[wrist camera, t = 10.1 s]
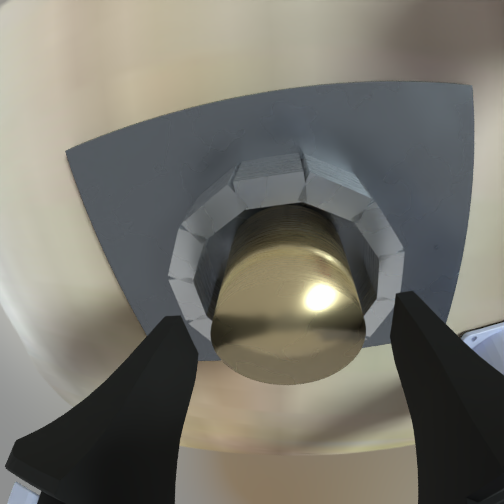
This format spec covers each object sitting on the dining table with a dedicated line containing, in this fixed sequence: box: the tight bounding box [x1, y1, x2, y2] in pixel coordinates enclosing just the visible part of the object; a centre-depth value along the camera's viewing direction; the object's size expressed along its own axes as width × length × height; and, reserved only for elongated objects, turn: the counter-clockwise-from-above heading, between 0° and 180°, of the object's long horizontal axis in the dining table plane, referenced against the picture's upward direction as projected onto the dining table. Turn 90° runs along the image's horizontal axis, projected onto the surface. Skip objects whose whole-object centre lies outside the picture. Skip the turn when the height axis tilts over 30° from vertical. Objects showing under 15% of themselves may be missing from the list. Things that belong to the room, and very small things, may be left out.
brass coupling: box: [210, 205, 366, 385], centre depth 12 cm, size 5×5×5 cm
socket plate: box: [65, 81, 474, 361], centre depth 13 cm, size 18×14×3 cm
